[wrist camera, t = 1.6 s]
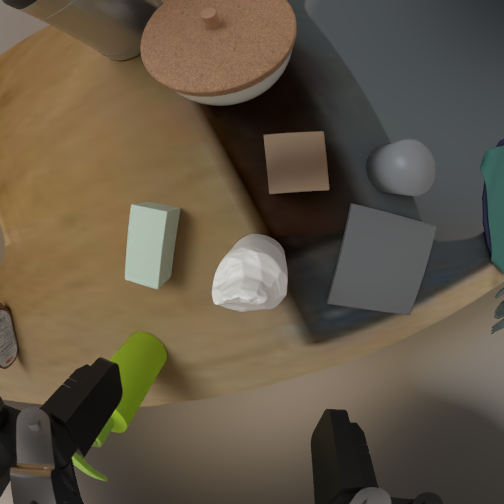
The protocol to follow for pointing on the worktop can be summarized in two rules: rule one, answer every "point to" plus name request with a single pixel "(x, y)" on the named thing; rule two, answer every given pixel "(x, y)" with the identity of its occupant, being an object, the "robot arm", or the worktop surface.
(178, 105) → the worktop surface
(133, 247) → the sage bar
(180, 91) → the lidded bowl
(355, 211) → the mat
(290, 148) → the walnut cube
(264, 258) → the white tall lump
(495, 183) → the teal place setting
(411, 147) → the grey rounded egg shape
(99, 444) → the soap dispenser
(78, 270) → the worktop surface
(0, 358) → the tin
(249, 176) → the worktop surface
